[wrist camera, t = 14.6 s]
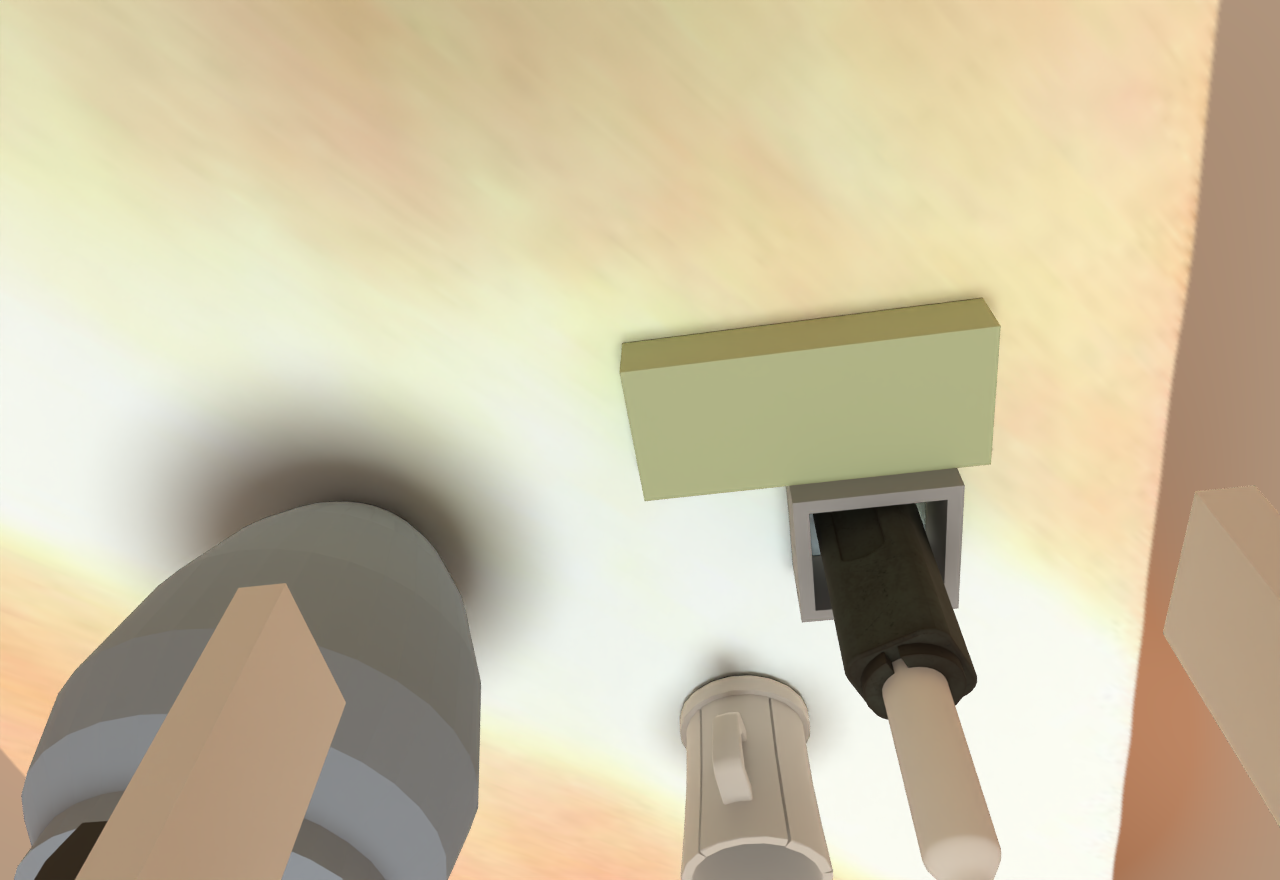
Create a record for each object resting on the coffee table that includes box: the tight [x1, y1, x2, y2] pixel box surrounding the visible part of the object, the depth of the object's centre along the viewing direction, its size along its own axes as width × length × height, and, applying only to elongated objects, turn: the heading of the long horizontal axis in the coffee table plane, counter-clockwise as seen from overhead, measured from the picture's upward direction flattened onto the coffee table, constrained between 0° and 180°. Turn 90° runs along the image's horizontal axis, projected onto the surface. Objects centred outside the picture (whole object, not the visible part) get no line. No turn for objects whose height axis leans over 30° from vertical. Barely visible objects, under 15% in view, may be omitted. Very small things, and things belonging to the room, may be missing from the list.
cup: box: [680, 675, 833, 880], centre depth 58 cm, size 10×9×12 cm
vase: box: [14, 502, 481, 880], centre depth 46 cm, size 20×20×24 cm
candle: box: [813, 503, 1001, 880], centre depth 42 cm, size 5×5×25 cm
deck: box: [620, 298, 1001, 622], centre depth 49 cm, size 18×17×4 cm
